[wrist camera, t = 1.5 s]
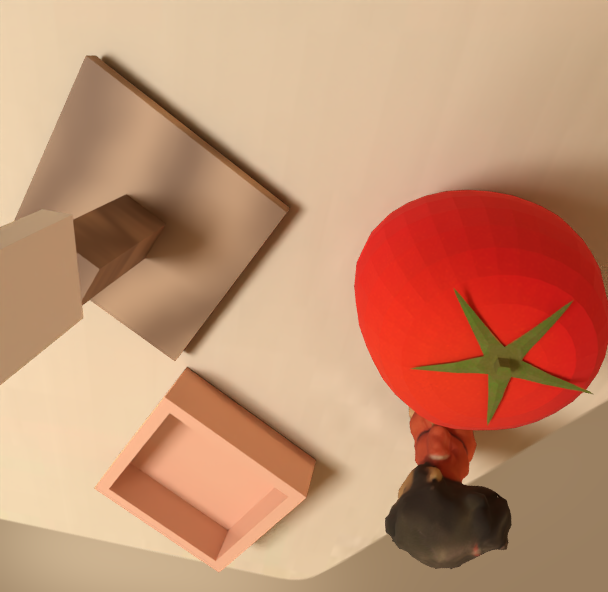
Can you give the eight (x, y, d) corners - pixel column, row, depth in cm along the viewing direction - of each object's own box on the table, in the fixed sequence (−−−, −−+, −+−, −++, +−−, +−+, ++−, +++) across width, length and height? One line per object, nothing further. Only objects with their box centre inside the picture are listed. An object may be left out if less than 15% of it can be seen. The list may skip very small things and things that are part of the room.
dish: (118, 455, 46) (94, 488, 43) (186, 367, 40) (164, 397, 37) (233, 534, 48) (219, 572, 44) (315, 460, 42) (306, 497, 38)
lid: (15, 235, 38) (-92, 283, 30) (95, 55, 31) (-16, 55, 23) (180, 354, 40) (120, 430, 32) (290, 208, 33) (248, 257, 25)
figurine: (446, 362, 36) (458, 493, 25) (498, 414, 37) (530, 561, 26) (379, 407, 38) (365, 542, 28) (429, 454, 39) (433, 602, 29)
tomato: (612, 249, 30) (750, 388, 18) (475, 369, 35) (507, 541, 23) (448, 117, 29) (471, 165, 17) (331, 261, 34) (281, 381, 22)
